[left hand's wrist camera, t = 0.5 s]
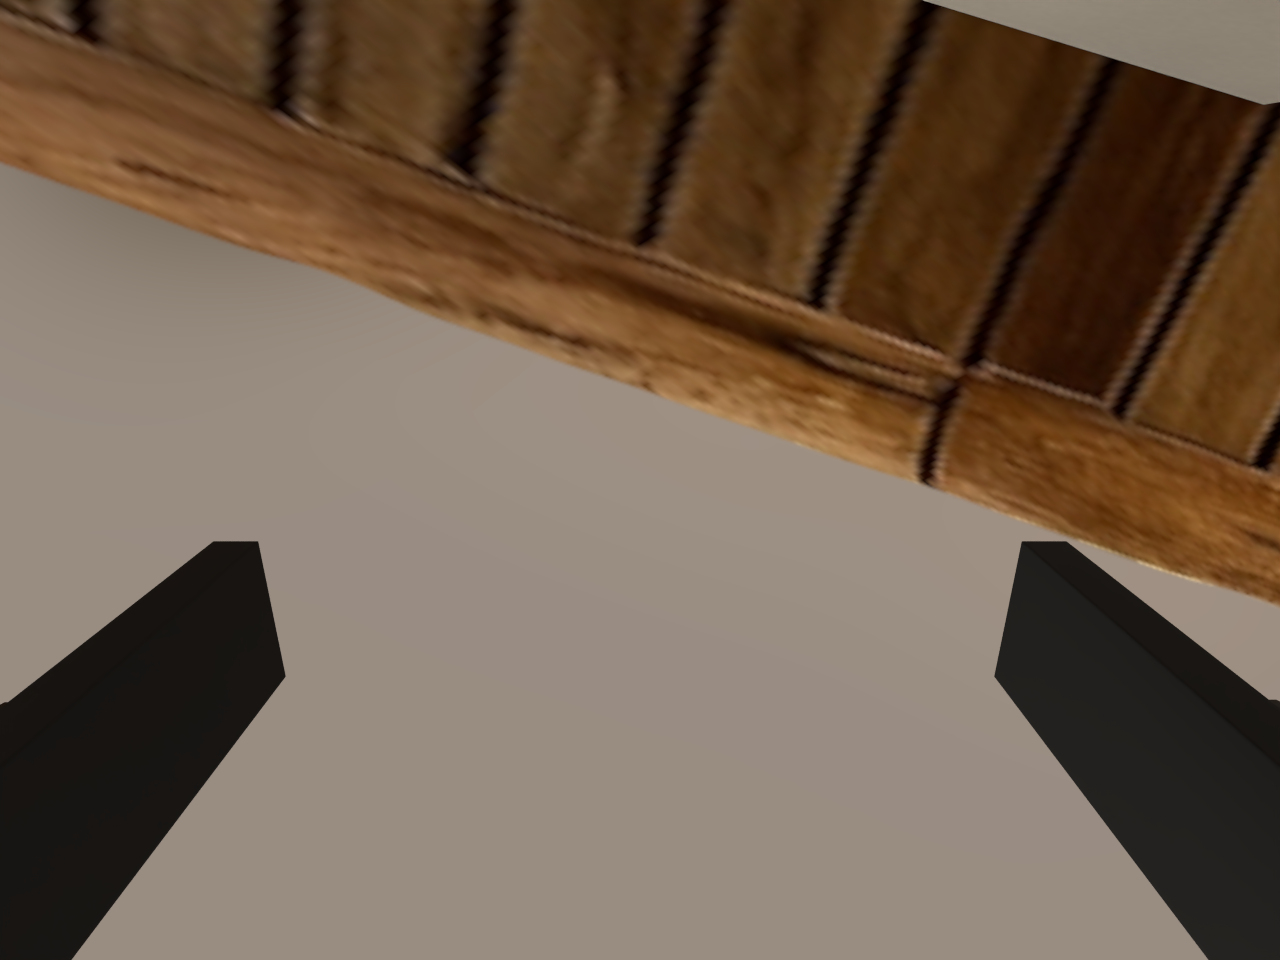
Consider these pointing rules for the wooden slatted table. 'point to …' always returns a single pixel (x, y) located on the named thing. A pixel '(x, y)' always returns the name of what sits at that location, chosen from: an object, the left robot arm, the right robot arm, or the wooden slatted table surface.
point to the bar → (1160, 36)
